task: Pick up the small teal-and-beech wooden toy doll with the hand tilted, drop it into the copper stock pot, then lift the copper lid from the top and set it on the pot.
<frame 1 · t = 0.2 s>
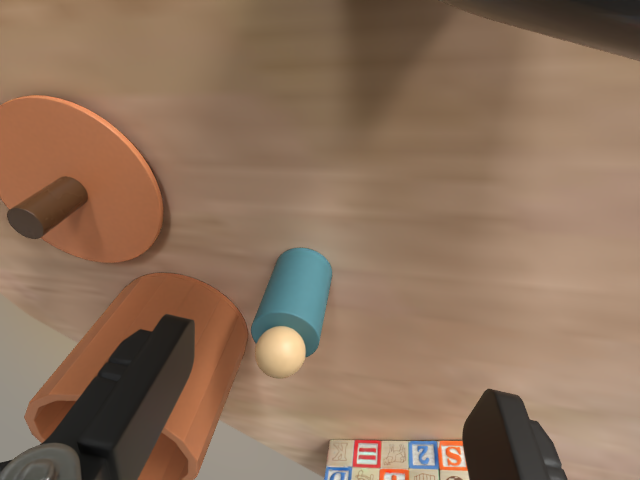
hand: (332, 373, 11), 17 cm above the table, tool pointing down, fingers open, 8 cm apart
lid: (76, 187, 29), point 1 cm above the table
toy doll: (303, 270, 32), on the table
colourful patterned box: (425, 452, 44), on the table
pot: (185, 322, 37), on the table
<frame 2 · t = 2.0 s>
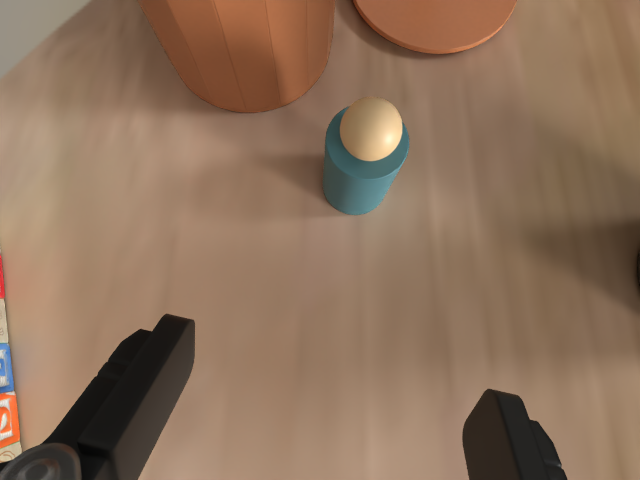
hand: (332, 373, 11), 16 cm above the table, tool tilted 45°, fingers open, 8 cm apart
toy doll: (354, 184, 28), on the table
pot: (251, 40, 31), on the table
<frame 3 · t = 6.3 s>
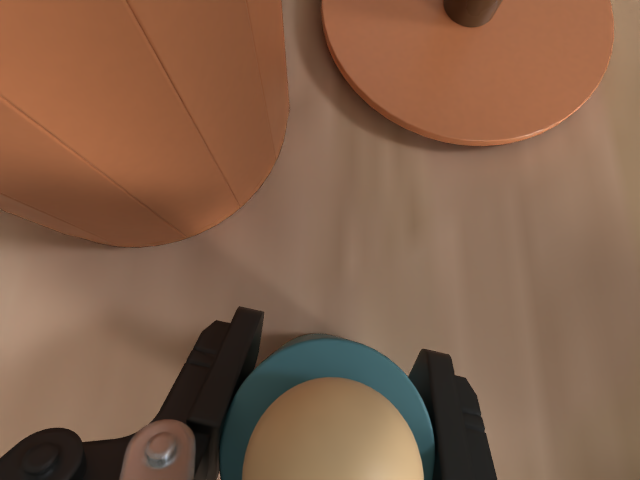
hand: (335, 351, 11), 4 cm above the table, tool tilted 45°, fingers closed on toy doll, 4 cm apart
lid: (464, 13, 18), point 1 cm above the table
toy doll: (317, 394, 15), on the table, touching gripper
pot: (148, 111, 17), on the table
when the fingers open (15 cm above the table, at t = 13.3 s): toy doll drops 10 cm, resting on pot.
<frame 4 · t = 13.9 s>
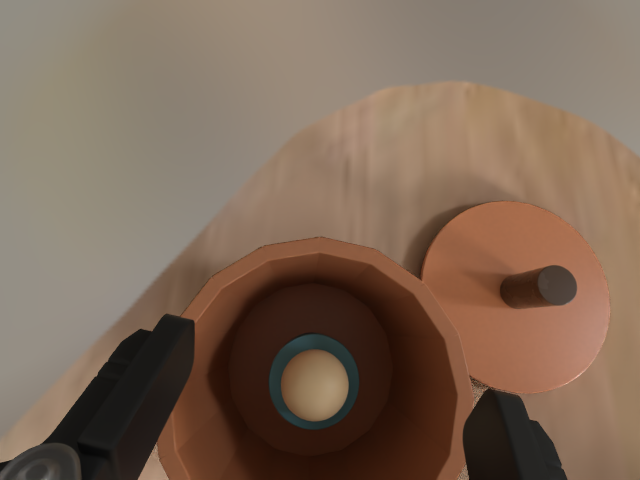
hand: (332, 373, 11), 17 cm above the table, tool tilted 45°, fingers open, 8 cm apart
lid: (512, 292, 28), point 1 cm above the table
toy doll: (311, 367, 27), resting on pot
pot: (310, 364, 27), on the table
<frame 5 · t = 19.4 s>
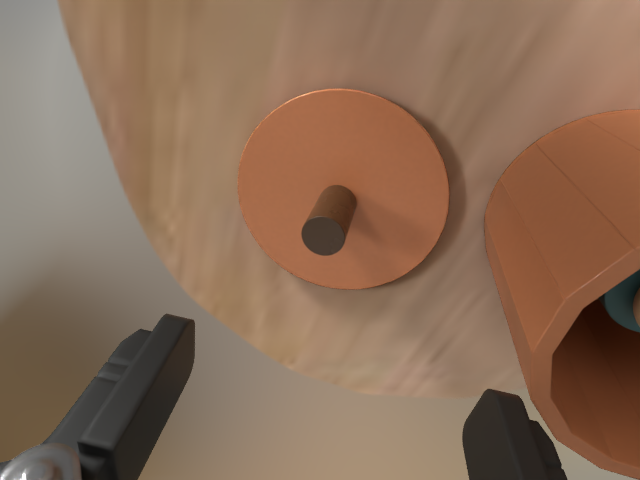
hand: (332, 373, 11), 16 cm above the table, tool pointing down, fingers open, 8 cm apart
lid: (339, 199, 25), point 1 cm above the table
toy doll: (601, 220, 23), resting on pot
pot: (597, 218, 23), on the table
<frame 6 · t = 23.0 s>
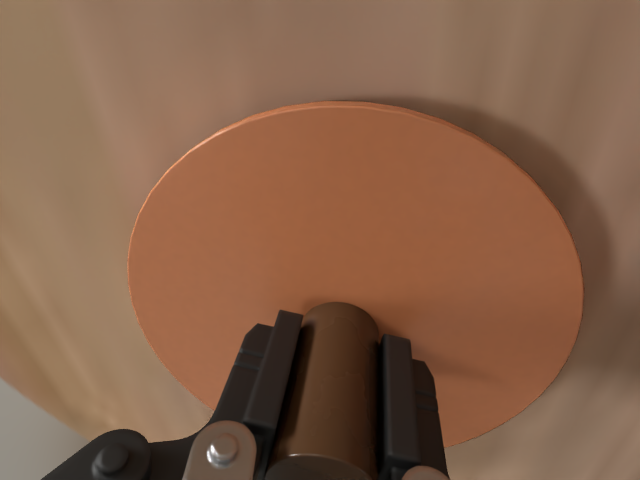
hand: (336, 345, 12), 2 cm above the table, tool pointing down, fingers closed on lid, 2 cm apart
lid: (340, 320, 12), point 1 cm above the table, touching gripper
when the fingers open (13 cm above the table, at t = 29.3 s): lid stays where it is, resting on pot.
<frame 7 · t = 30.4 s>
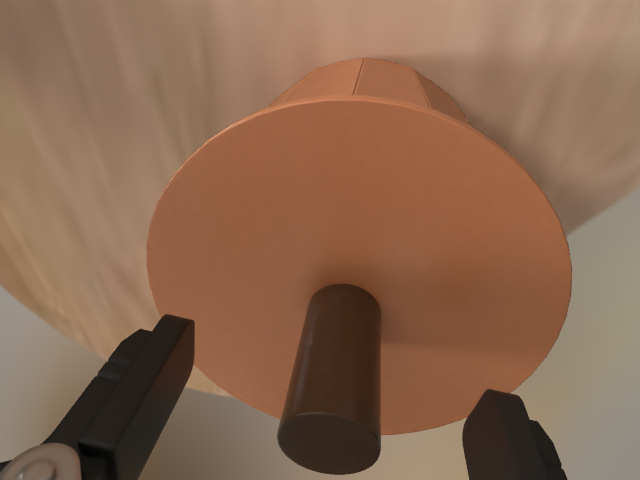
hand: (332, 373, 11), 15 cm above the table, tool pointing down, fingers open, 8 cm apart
lid: (345, 302, 13), point 12 cm above the table, touching pot
pot: (360, 171, 23), on the table
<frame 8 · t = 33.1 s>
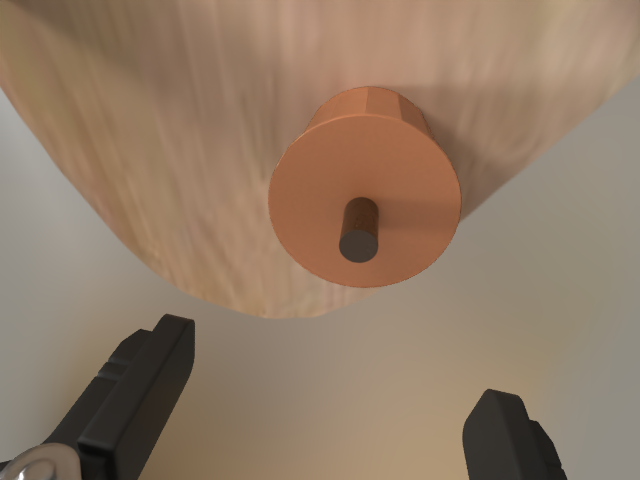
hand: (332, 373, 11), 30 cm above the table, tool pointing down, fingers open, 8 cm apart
lid: (361, 209, 28), point 12 cm above the table, touching pot
pot: (366, 153, 38), on the table
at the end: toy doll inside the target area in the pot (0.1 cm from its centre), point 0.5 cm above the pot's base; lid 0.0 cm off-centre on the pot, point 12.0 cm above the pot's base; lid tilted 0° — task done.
